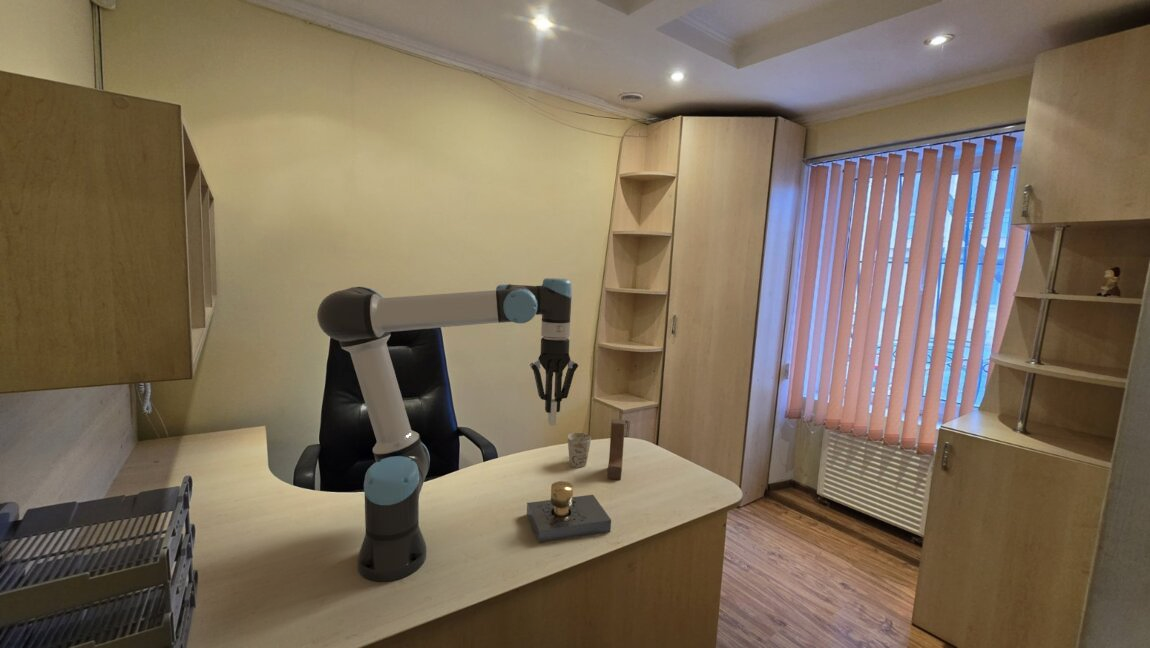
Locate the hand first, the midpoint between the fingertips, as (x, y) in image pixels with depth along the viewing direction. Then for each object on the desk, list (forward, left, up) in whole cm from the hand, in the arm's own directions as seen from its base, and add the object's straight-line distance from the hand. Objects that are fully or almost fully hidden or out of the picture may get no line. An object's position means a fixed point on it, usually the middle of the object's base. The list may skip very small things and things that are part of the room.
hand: (552, 423), depth 126 cm
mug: (+21, +35, -29) cm, 50 cm away
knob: (+3, -2, -28) cm, 29 cm away
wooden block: (+30, +23, -29) cm, 47 cm away
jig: (+5, -2, -28) cm, 29 cm away
